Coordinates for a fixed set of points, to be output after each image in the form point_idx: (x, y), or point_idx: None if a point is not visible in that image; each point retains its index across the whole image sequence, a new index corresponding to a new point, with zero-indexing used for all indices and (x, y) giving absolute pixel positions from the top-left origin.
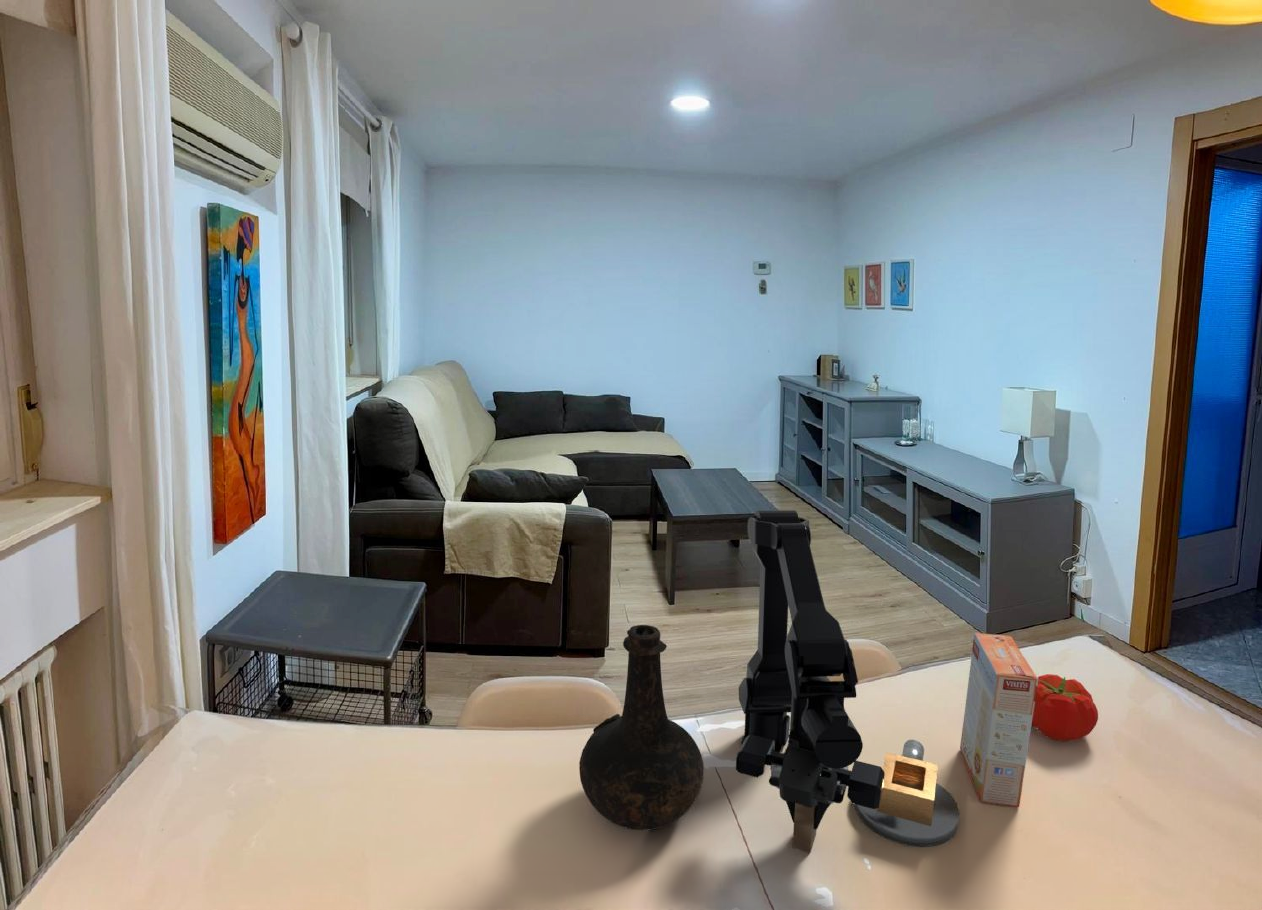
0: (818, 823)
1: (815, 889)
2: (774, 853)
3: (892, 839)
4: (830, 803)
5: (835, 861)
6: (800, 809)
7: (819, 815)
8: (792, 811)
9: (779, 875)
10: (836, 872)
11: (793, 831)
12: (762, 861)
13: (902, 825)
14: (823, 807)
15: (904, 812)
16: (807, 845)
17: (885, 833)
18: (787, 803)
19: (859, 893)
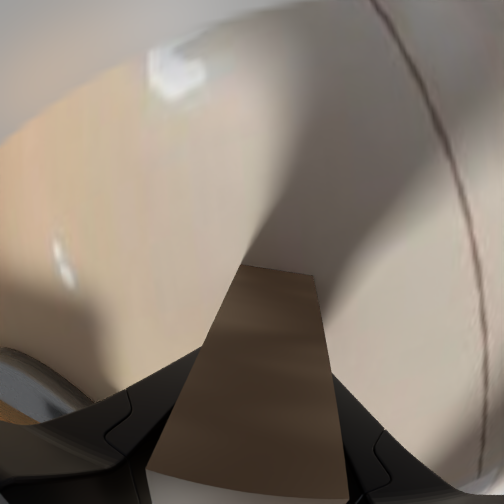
0: (186, 357)
1: (206, 73)
2: (381, 224)
3: (38, 363)
4: (20, 425)
5: (146, 245)
6: (291, 398)
7: (162, 384)
8: (337, 398)
9: (352, 104)
10: (137, 188)
11: (319, 309)
12: (422, 167)
13: (10, 389)
14: (104, 417)
15: (7, 419)
16: (249, 276)
17: (48, 377)
18: (381, 429)
19: (71, 120)
